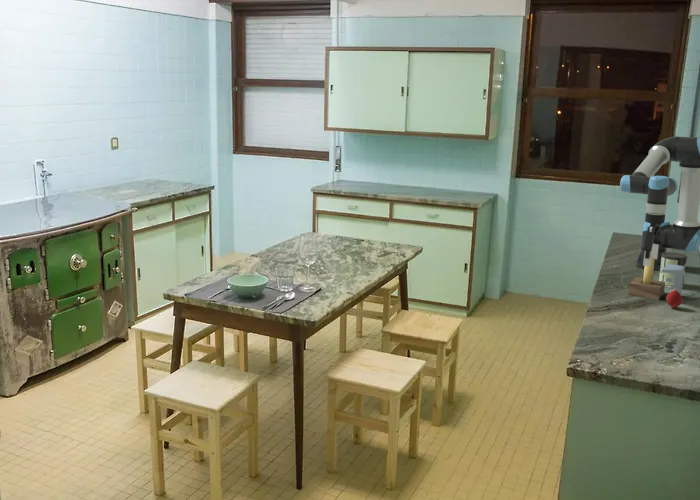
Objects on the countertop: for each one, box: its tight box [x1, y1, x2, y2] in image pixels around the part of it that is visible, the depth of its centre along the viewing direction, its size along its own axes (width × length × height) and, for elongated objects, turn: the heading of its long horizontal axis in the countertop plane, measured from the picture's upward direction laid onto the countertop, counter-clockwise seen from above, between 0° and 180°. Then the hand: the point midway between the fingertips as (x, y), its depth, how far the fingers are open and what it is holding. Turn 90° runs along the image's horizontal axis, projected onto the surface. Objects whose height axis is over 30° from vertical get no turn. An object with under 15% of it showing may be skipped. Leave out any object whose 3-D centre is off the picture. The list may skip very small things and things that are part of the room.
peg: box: [643, 257, 655, 285], centre depth 281 cm, size 4×4×16 cm
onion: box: [665, 288, 683, 309], centre depth 264 cm, size 6×6×8 cm
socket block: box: [627, 277, 666, 301], centre depth 283 cm, size 12×12×5 cm
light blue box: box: [662, 264, 686, 295], centre depth 277 cm, size 12×7×13 cm, turn 145°
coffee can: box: [658, 251, 688, 289], centre depth 295 cm, size 10×10×14 cm
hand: (650, 262), depth 280 cm, fingers open, 13 cm apart
